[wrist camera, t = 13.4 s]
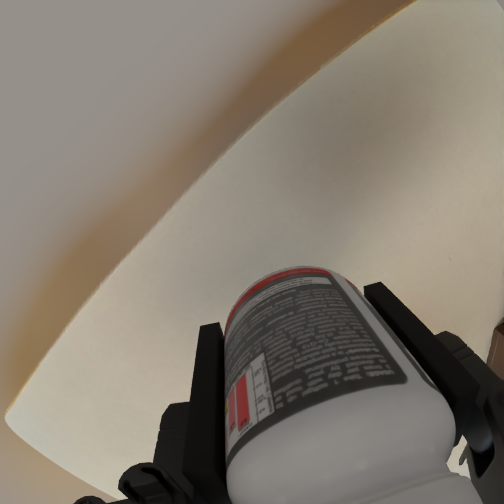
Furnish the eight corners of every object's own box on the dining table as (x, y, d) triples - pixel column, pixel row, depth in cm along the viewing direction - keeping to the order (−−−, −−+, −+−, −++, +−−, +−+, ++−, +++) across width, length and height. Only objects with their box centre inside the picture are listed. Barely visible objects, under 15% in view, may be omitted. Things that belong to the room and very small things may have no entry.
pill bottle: (207, 364, 13) (197, 602, 3) (252, 240, 11) (326, 562, 2) (327, 388, 14) (394, 578, 4) (385, 284, 12) (549, 470, 3)
